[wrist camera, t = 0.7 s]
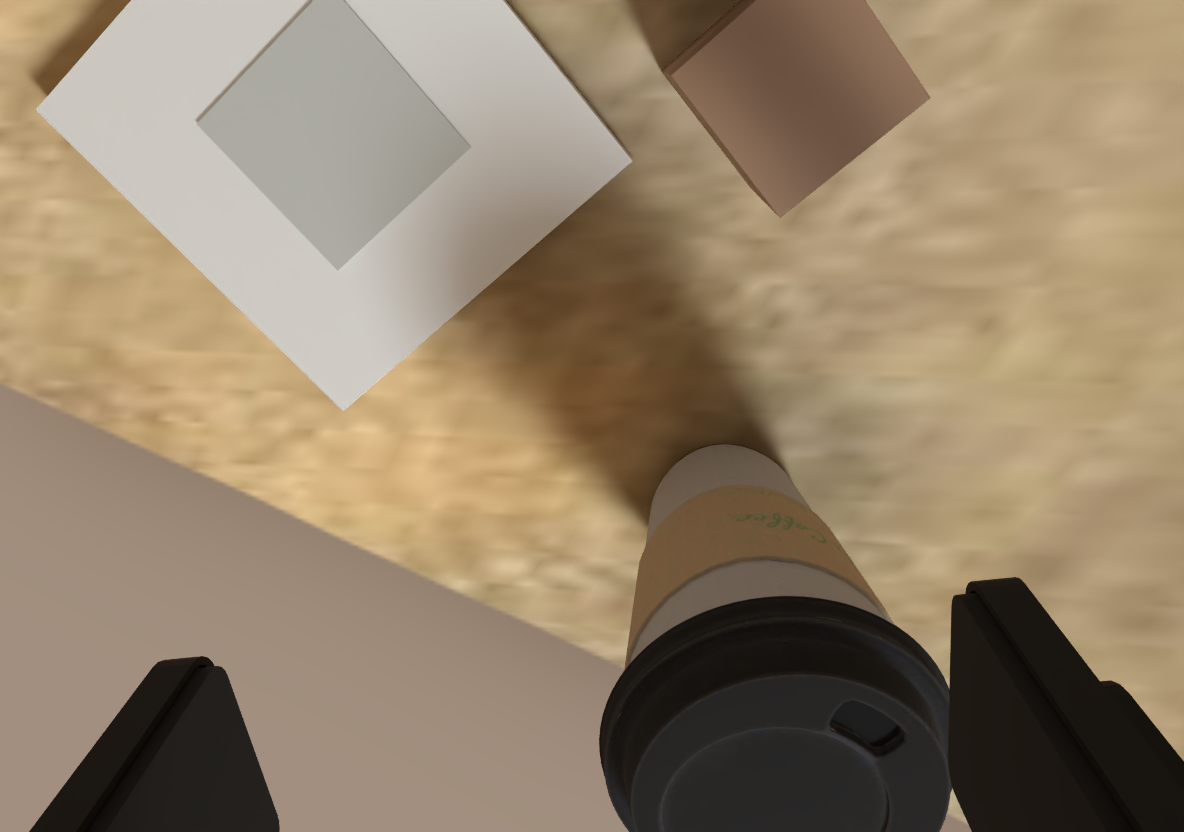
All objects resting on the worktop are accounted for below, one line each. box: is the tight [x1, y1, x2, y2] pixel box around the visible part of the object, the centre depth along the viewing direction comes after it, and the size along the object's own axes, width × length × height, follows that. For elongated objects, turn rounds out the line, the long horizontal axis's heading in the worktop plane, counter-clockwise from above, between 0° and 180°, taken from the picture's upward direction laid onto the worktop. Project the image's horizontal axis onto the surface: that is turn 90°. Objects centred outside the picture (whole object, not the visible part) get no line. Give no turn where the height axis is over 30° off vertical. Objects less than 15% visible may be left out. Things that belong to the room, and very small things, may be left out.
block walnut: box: [661, 0, 930, 218], centre depth 27 cm, size 5×5×6 cm
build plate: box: [36, 0, 632, 411], centre depth 30 cm, size 14×14×1 cm
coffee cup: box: [599, 444, 953, 832], centre depth 29 cm, size 9×9×15 cm
